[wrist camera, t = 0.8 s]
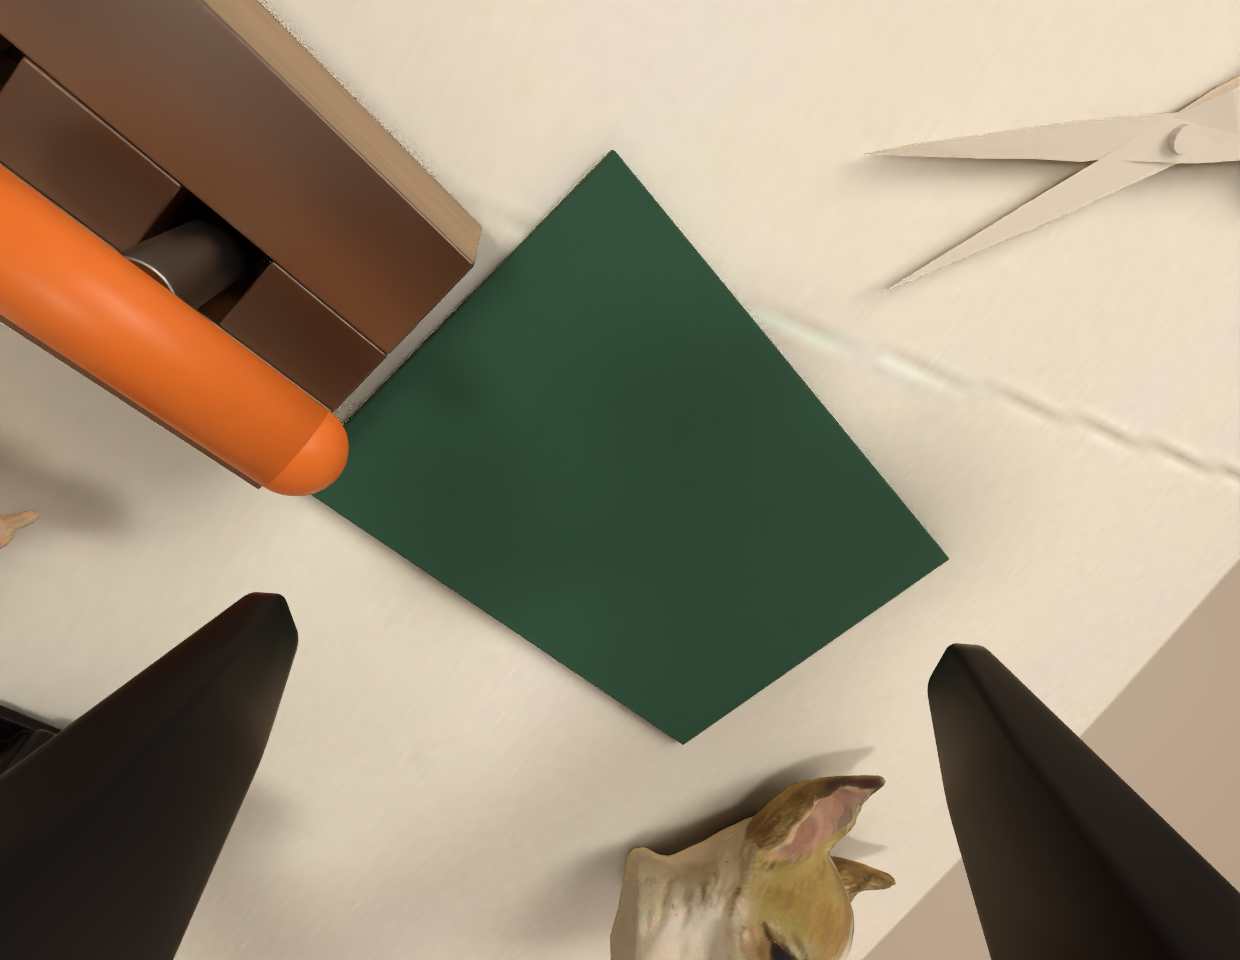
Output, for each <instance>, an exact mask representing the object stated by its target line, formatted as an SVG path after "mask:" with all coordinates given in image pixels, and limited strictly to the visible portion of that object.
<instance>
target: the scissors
mask: <svg viewBox="0 0 1240 960" xmlns="http://www.w3.org/2000/svg"><path fill="white" fill-rule="evenodd" d="M866 154H870V155H897V156H923V157H950V158H977V159H1043V160H1058V161H1074V162H1086V161H1093V160H1098V161H1096V162H1095V163H1093V164H1091V165H1090V166H1088V167H1086V168H1085V169H1083V170H1081V171H1080V172H1078V173H1076V174H1075V175H1073V176H1071V177H1070V178H1068V179H1066V180H1065V181H1063V182H1061V183H1060V184H1058V185H1056V186H1055V187H1053V188H1051V189H1049V190H1048V191H1046V192H1044V193H1043V194H1041V195H1039V196H1038V197H1036V198H1034V199H1033V200H1031V201H1029V202H1028V203H1026V204H1024V205H1023V206H1021V207H1019V208H1018V209H1016V210H1014V211H1013V212H1011V213H1010V214H1008V215H1006V216H1005V217H1003V218H1002V219H1000V220H998V221H997V222H995V223H993V224H992V225H990V226H989V227H987V228H985V229H984V230H982V231H981V232H979V233H977V234H976V235H974V236H972V237H971V238H969V239H968V240H966V241H964V242H963V243H961V244H960V245H958V246H956V247H955V248H953V249H951V250H950V251H948V252H947V253H945V254H943V255H942V256H940V257H939V258H937V259H935V260H934V261H932V262H930V263H929V264H927V265H926V266H924V267H922V268H921V269H919V270H918V271H916V272H914V273H913V274H911V275H909V276H908V277H906V278H905V279H903V280H901V281H900V282H898V283H897V284H895V285H893V286H892V287H890V288H888V289H887V290H885V291H888V290H890V289H892V288H895V287H897V286H899V285H902V284H904V283H906V282H909V281H911V280H914V279H916V278H918V277H921V276H923V275H925V274H928V273H930V272H932V271H935V270H937V269H940V268H942V267H944V266H947V265H949V264H951V263H954V262H956V261H958V260H961V259H963V258H966V257H968V256H970V255H973V254H975V253H977V252H980V251H982V250H984V249H987V248H989V247H992V246H994V245H996V244H999V243H1001V242H1003V241H1006V240H1008V239H1010V238H1013V237H1015V236H1017V235H1020V234H1022V233H1024V232H1027V231H1029V230H1031V229H1034V228H1036V227H1038V226H1041V225H1043V224H1045V223H1048V222H1050V221H1052V220H1055V219H1057V218H1059V217H1062V216H1064V215H1066V214H1068V213H1071V212H1073V211H1075V210H1077V209H1079V208H1081V207H1084V206H1086V205H1088V204H1090V203H1092V202H1095V201H1097V200H1099V199H1101V198H1103V197H1105V196H1108V195H1110V194H1112V193H1114V192H1116V191H1118V190H1121V189H1123V188H1125V187H1127V186H1129V185H1131V184H1134V183H1136V182H1138V181H1140V180H1142V179H1145V178H1147V177H1149V176H1151V175H1153V174H1155V173H1158V172H1160V171H1162V170H1164V169H1166V168H1168V167H1170V166H1173V165H1175V164H1177V163H1195V164H1197V163H1210V162H1224V161H1237V160H1240V75H1239V76H1237V77H1236V78H1234V79H1232V80H1230V81H1228V82H1226V83H1224V84H1222V85H1220V86H1219V87H1217V88H1215V89H1213V90H1211V91H1210V92H1208V93H1207V94H1205V95H1204V96H1202V97H1201V98H1199V99H1198V100H1196V101H1194V102H1193V103H1191V104H1190V105H1188V106H1187V107H1185V108H1184V109H1182V110H1181V111H1179V112H1178V113H1162V114H1151V115H1139V116H1128V117H1116V118H1104V119H1093V120H1081V121H1073V122H1065V123H1057V124H1050V125H1042V126H1034V127H1028V128H1021V129H1015V130H1009V131H1002V132H996V133H990V134H983V135H976V136H968V137H961V138H953V139H946V140H938V141H930V142H923V143H917V144H912V145H907V146H902V147H897V148H892V149H887V150H882V151H877V152H871V153H866ZM885 291H884V292H885ZM882 293H883V292H882Z"/></svg>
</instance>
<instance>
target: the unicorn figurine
mask: <svg viewBox="0 0 1240 960" xmlns="http://www.w3.org/2000/svg"><path fill="white" fill-rule="evenodd" d="M37 518H38V515H37V513H36V512H35V511H25V512H21V513H18V514H13V515H7V516H0V549H1V548H2V547H4V546H6V545H7V544H8V543H9V542H10V541H11V540H12V537H13V533H14V531H15V530H17V529H19V528H22V527H24V526H27V525H29V524H31V523H33V522H34V521H35V520H37Z"/></svg>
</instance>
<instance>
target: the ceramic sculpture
mask: <svg viewBox="0 0 1240 960" xmlns="http://www.w3.org/2000/svg"><path fill="white" fill-rule="evenodd" d="M885 782H886V781H885V779H884V778H883V777H881V776H869V775H861V776H834V777H825V778H818V779H814V780H807V781H801V782H797V783H794V784H793V785H791V786H789V787H788V788H786V789H785V790H784V791H782V792H781V793H780V794H779V795H778V796H777V797H775V798H774V799H773V800H772V801H771V802H769V803H768V804H767V805H766V806H765V807H764V808H763V809H761V810H760V811H759V812H758V813H757V814H756V815H754V816H753V817H750V818H746V819H744V820H742V821H740V822H738V823H736V824H734V825H732V826H729V827H727V828H725V829H723V830H721V831H719V832H718V833H716V834H714V835H713V836H711V837H709V838H708V839H706V840H704V841H702V842H700V843H698V844H695V845H693V846H691V847H689V848H686V849H684V850H682V851H680V852H678V853H676V854H673V855H669V856H665V855H659V854H657V853H655V852H653V851H651V850H649V849H648V848H645V847H640V848H634V849H633V850H632V851H631V852H630V854H629V855H628V857H627V859H626V863H625V869H624V876H623V882H622V889H621V895H620V901H619V908H618V911H617V914H616V918H615V921H614V925H613V928H612V932H611V935H610V948H611V960H846V959H847V956H848V954H849V952H850V948H851V945H852V939H853V932H854V917H853V911H852V907H851V903H850V902H851V901H852V900H853V898H854V897H855V896H856V895H857V893H858V892H861V891H864V890H878V889H886V888H890V887H891V886H892V885H894V884H896V883H895V880H894V878H893V877H892V876H891V875H889V874H888V873H885V872H882V871H880V870H877V869H874V868H872V867H869V866H867V865H865V864H862V863H858V862H854V861H851V860H847V859H843V858H837V857H830V855H829V853H828V852H829V850H830V849H831V848H832V847H833V846H834V845H835V844H836V842H837V841H839V840H840V839H841V838H842V837H843V836H845V835H846V834H847V833H848V832H849V831H850V830H851V829H852V827H853V826H854V824H855V822H856V817H857V816H858V814H859V812H860V810H861V806H862V804H863V803H864V802H865V801H866V800H867V799H868V798H869V797H870V796H871V795H872V794H873V793H875V792H876V791H877V790H879V789H880V788H881V787H882V786H883V785H884V784H885Z"/></svg>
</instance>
